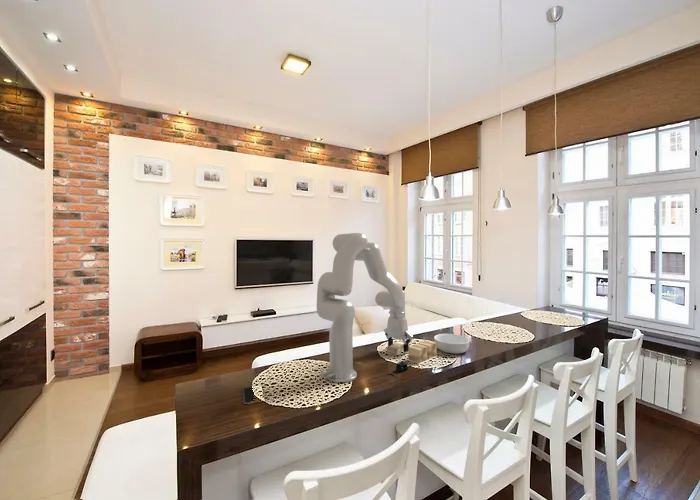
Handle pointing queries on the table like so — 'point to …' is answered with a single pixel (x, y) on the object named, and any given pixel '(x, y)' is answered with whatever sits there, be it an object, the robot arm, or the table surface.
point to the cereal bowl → (451, 343)
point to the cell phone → (247, 394)
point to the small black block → (401, 366)
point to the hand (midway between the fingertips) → (398, 349)
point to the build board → (424, 361)
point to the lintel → (395, 348)
